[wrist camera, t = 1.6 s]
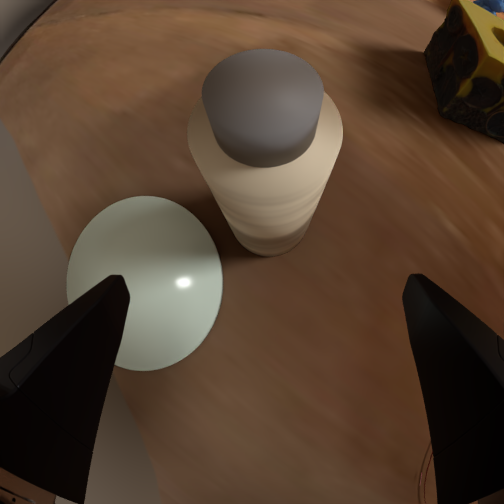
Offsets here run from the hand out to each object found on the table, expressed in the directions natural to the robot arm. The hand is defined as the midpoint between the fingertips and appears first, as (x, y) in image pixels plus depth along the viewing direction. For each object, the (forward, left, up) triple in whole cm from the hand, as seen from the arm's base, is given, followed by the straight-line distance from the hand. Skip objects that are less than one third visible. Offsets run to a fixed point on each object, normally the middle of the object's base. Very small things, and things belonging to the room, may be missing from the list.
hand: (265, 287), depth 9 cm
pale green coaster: (+2, +10, -12) cm, 15 cm away
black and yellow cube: (+19, -23, -12) cm, 32 cm away
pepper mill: (+6, 0, -12) cm, 13 cm away
